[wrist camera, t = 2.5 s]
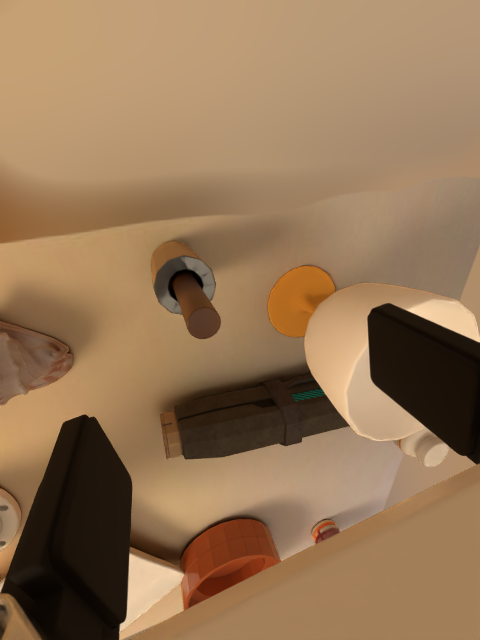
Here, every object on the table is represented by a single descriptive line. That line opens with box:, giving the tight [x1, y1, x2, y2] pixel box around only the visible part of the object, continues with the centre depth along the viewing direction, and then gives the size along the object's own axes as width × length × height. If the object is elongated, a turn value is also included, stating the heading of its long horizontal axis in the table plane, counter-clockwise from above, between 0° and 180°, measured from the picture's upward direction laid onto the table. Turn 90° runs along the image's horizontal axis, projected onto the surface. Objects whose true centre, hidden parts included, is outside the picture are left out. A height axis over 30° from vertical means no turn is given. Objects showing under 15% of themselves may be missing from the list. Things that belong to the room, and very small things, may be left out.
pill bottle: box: [312, 520, 340, 544], centre depth 51 cm, size 5×5×8 cm
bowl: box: [180, 519, 281, 611], centre depth 47 cm, size 15×15×6 cm
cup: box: [267, 266, 480, 441], centre depth 29 cm, size 12×12×17 cm
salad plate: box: [0, 547, 185, 633], centre depth 40 cm, size 21×21×3 cm
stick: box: [170, 269, 221, 339], centre depth 23 cm, size 2×2×16 cm
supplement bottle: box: [392, 428, 448, 467], centre depth 44 cm, size 5×5×10 cm
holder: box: [151, 241, 216, 315], centre depth 26 cm, size 4×4×9 cm
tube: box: [160, 374, 351, 459], centre depth 37 cm, size 11×7×30 cm
